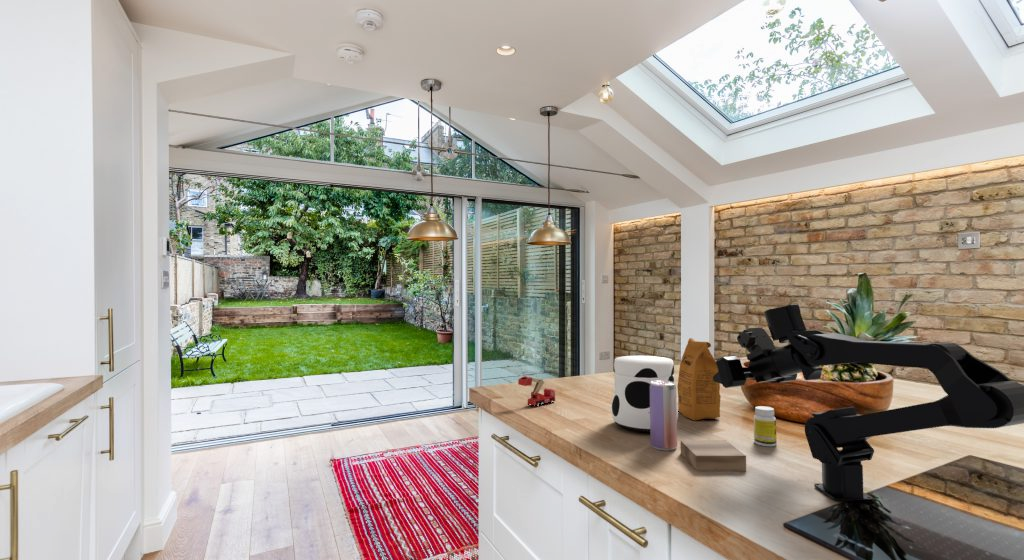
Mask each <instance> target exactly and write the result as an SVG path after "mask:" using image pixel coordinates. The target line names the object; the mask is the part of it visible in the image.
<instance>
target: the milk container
mask: <svg viewBox="0 0 1024 560" xmlns="http://www.w3.org/2000/svg"><path fill="white" fill-rule="evenodd" d="M613 372H614V373H613V381H614V387H613V388H614V391H613V396H612V399H611V403H610V404H611V406H610V409H611V415H612V419H613V422H614V423H615V424H616V425H618V426H620V427H621V428H623V429H624V428H625V429H628V430H630V431H631V430H632V431H639V432H646V433H650V382H651V381H657V380H663V381H671V382H674V383H675V364H674V360H673V359H672V358H670V357H663V356H654V355H624V356H617V357H615V358H614V362H613ZM676 402H677V403H678V400H676ZM678 419H679V412H678V404H677V421H678Z"/></svg>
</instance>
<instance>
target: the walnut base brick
mask: <svg viewBox="0 0 1024 560" xmlns="http://www.w3.org/2000/svg"><path fill="white" fill-rule="evenodd" d="M680 455H681V456H682V457H683V458H684V459H685V460H686V462H688V464H690V466H692V468H693V469H694V470H695V471H697V472H700V471H703V472H704V471H705V472H707V471H712V472H713V471H715V472H716V471H718V472H719V471H720V472H721V471H722V472H725V471H726V472H730V471H731V472H734V471H735V472H736V471H738V472H742V471H747V455H745V454H744V453H743V452H742V451H741V450H739V449H738V448H737V447H735V446H734V445H733V444H732V443H730V442H729V441H727V439H726V440H725V439H701V440H700V439H695V440H694V439H685V440H684V439H680Z"/></svg>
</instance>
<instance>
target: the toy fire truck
mask: <svg viewBox="0 0 1024 560" xmlns="http://www.w3.org/2000/svg"><path fill="white" fill-rule="evenodd" d="M532 382H533V383H535V385H534V388H533V390H532V391H531V392H530V397H529V398H527V405H528V404H531V405H539V404H544V403H548V402H552V401H555V402H556V393H555V390H554V389H552V388H546V387H545V388H544V389H543V394H542V393H540V391H541V390H542V387H543V386H544V384H545V381H544V380H543V378H537V377H530V376H527V375H524V376H521V377H519V378H518V382H517V384H518V385H519V386H524V387H528V386H532ZM548 404H549V403H548ZM544 405H545V404H544Z"/></svg>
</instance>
